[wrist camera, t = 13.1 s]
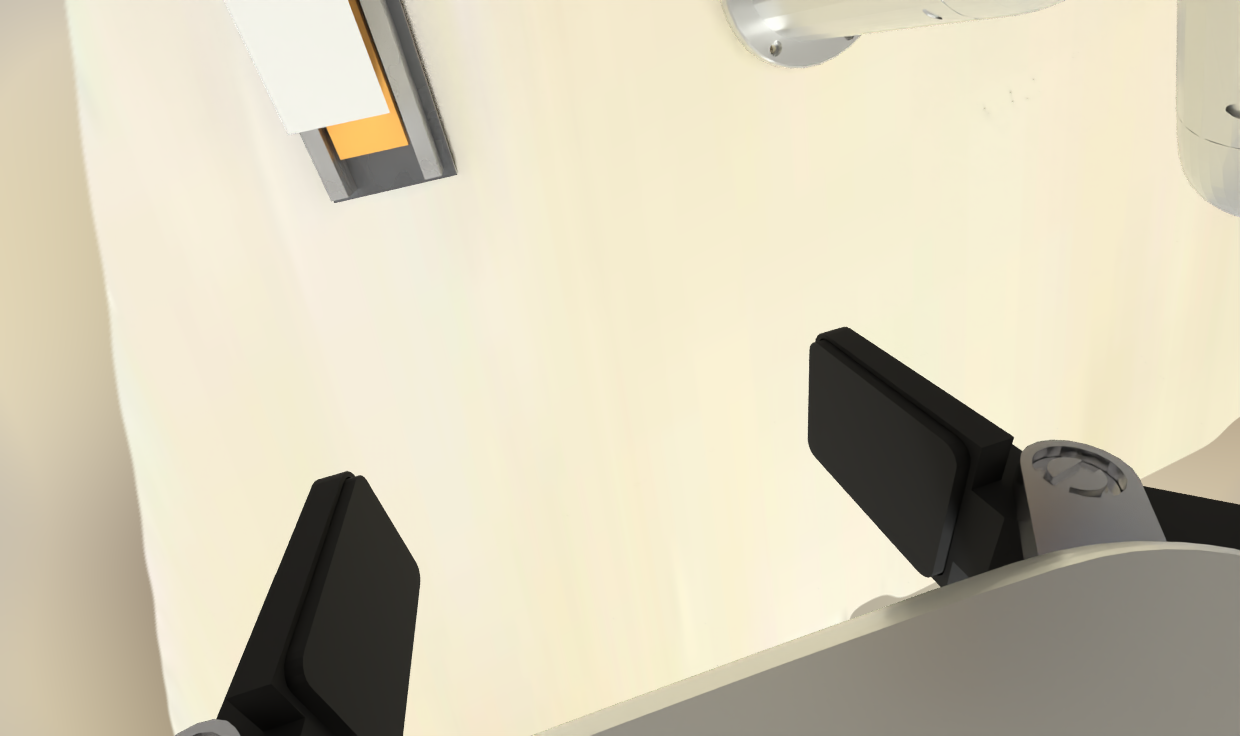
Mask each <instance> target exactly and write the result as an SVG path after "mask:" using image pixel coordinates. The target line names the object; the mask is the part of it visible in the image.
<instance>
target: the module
mask: <svg viewBox="0 0 1240 736" xmlns="http://www.w3.org/2000/svg"><path fill="white" fill-rule="evenodd" d="M223 1H224V3H225V5H226V7H227V9H228V11H229V13H230V15H231V17H232V19H233V21H234V24H235V26H236V28H237V30H238V32H239V34H240V36H241V38H242V40H243V42H244V44H245V47H246V49H247V51H248V53H249V55H250V57H251V59H252V61H253V63H254V65H255V67H256V69H257V72H258V74H259V76H260V78H261V80H262V82H263V84H264V86H265V88H266V90H267V92H268V94H269V97H270V99H271V101H272V103H273V105H274V107H275V109H276V111H277V113H278V115H279V117H280V120H281V122H282V124H283V126H284V128H285V130H286V132H287V134H288V135H291V134H295V133H300V132H304V131H309V130H314V129H318V128H323V127H327V126H332V125H336V124H341V123H346V122H350V121H355V120H359V119H364V118H369V117H373V116H378V115H382V114H387V113H390V111H389V109H388V106H387V103H386V101H385V98H384V95H383V93H382V90H381V87H380V85H379V82H378V79H377V77H376V74H375V71H374V69H373V66H372V63H371V61H370V58H369V55H368V53H367V50H366V47H365V45H364V42H363V39H362V37H361V34H360V31H359V29H358V26H357V23H356V21H355V18H354V15H353V13H352V10H351V7H350V5H349V2H348V0H223Z"/></svg>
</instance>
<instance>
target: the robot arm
mask: <svg viewBox="0 0 1240 736" xmlns="http://www.w3.org/2000/svg"><path fill="white" fill-rule="evenodd" d="M1063 1H1065V0H720V2H721V5H722V8H723V11H724V14H725V17H726V19H727V22H728V24H729V25H730V27H731V29H732V31H733V32H734V34H735V36H736V38H737V39H738V40H739V41H740V42H741V43H742V45H743V46H744V47H745V48H746V49H747V50H748V51H749V52H750V53H751V54H753V55H754V56H756V57H757V58H758V59H760V60H761V61H763V62H766V63H768V64H771V65H773V66H776V67H783V68H790V69H791V68H806V67H811V66H815V65H820V64H822V63H824V62H826V61H828V60H831V59H833V58H835V57H836V56H838V55H839V54H841V53H842V52H843V51H845V50H846V49H848V48H849V47H850V46H851V45H852V44H853V43H854V42H855V41H856V40H857V39H858V38H859V37H860V36H861V35H862V34H871V33H879V32H887V31H895V30H903V29H912V28H920V27H928V26H936V25H944V24H953V23H961V22H969V21H977V20H985V19H994V18H1001V17H1009V16H1016V15H1021V14H1026V13H1030V12H1035V11H1039V10H1042V9H1044V8H1047V7H1050V6H1053V5H1056V4H1058V3H1061V2H1063ZM771 46H772V52H771V53H770V47H771ZM1176 117H1177V142H1178V154H1179V158H1180V162H1181V166H1182V169H1183V172H1184V174H1185V176H1186V178H1187V180H1188V182H1189V183H1190V185H1191V186H1192V188H1193V189H1194V190H1195V191H1196V192H1197V193H1198V194H1199V195H1200V196H1201V197H1202V198H1203V199H1204V200H1205V201H1207V202H1209V203H1210V204H1212V205H1213V206H1215V207H1217V208H1219V209H1221V210H1222V211H1224V212H1227V213H1229V214H1232V215H1234V216H1237V217H1240V0H1177V63H1176ZM1013 439H1014V437H1013V436H1012V435H1010V434H1009V433H1007V432H1005V431H1004V430H1002V429H1001V428H999V427H998V426H996V425H995V424H993V423H992V422H990V421H989V420H987V419H986V418H984V417H983V416H981V415H980V414H978V413H977V412H975V411H974V410H972V409H971V408H969V407H968V406H966V405H965V404H963V403H962V402H960V401H959V400H957V399H956V398H954V397H953V396H951V395H950V394H948V393H947V392H945V391H944V390H942V389H941V388H939V387H938V386H936V385H935V384H933V383H932V382H930V381H929V380H927V379H926V378H924V377H923V376H921V375H919V374H918V373H916V372H915V371H913V370H912V369H910V368H909V367H907V366H906V365H904V364H903V363H901V362H900V361H898V360H897V359H895V358H894V357H892V356H891V355H889V354H888V353H886V352H885V351H883V350H882V349H880V348H879V347H877V346H876V345H874V344H873V343H871V342H870V341H868V340H867V339H865V338H864V337H862V336H861V335H859V334H858V333H856V332H855V331H853V330H852V329H850V328H848V327H842V328H838V329H835V330H831V331H828V332H824V333H821V334H819V335H818V336H817V338H816V341H815V342H814V343H812V344H811V346H810V354H809V404H808V444H809V447H810V450H811V452H812V454H813V455H814V456H815V458H816V459H817V460H818V461H819V462H820V463H821V464H822V465H823V466H824V468H825V469H826V470H827V471H828V472H829V473H830V474H831V475H832V476H833V478H834V479H835V480H836V481H837V482H838V483H839V484H840V485H841V486H842V488H843V489H844V490H845V491H846V492H847V493H848V494H849V495H850V496H851V498H852V499H853V500H854V501H855V502H856V503H857V504H858V505H859V506H860V508H861V509H862V510H863V511H864V512H865V513H866V514H867V515H868V516H869V518H870V519H871V520H872V521H873V522H874V523H875V524H876V525H877V526H878V528H879V529H880V530H881V531H882V532H883V533H884V534H885V535H886V536H887V538H888V539H889V540H890V541H891V542H892V543H893V544H894V545H895V546H896V548H897V549H898V550H899V551H900V552H901V553H902V554H903V555H904V556H905V558H906V559H907V560H908V561H909V562H910V563H911V564H912V565H913V566H914V568H915V569H916V570H917V571H918V572H919V573H920V574H921V575H923V576H925V577H928V578H929V577H932V578H933V579H934V580H935V581H936V582H937V583H938V585H939V586H940V588H937V589H934V590H931V591H928V592H926V593H923V594H920V595H917V596H915V597H912V598H909V599H906V600H903V601H901V602H898V603H895V604H892V605H890V606H886V607H884V608H881V609H878V610H875V611H872V612H870V613H867V614H864V615H861V616H858V617H856V618H853V619H850V620H847V621H844V622H842V623H839V624H836V625H833V626H830V627H828V628H825V629H822V630H819V631H816V632H814V633H811V634H808V635H805V636H802V637H800V638H797V639H794V640H791V641H789V642H786V643H783V644H780V645H778V646H775V647H772V648H769V649H767V650H764V651H761V652H758V653H756V654H753V655H750V656H747V657H744V658H742V659H739V660H736V661H733V662H731V663H728V664H725V665H722V666H720V667H717V668H714V669H711V670H709V671H706V672H703V673H700V674H698V675H695V676H692V677H689V678H687V679H684V680H681V681H678V682H676V683H673V684H670V685H667V686H665V687H662V688H659V689H657V690H654V691H651V692H648V693H646V694H643V695H640V696H637V697H635V698H632V699H629V700H626V701H624V702H621V703H618V704H615V705H613V706H610V707H607V708H605V709H602V710H599V711H596V712H594V713H591V714H588V715H586V716H583V717H580V718H578V719H575V720H572V721H569V722H567V723H564V724H561V725H559V726H556V727H553V728H550V729H548V730H545V731H542V732H540V733H537V734H534V735H532V736H1240V505H1238V504H1234V503H1228V502H1223V501H1218V500H1213V499H1207V498H1202V497H1197V496H1192V495H1187V494H1182V493H1176V492H1171V491H1166V490H1160V489H1156V488H1150V487H1145V486H1143V485H1142V483H1141V480H1140V479H1139V477H1138V476H1137V474H1136V473H1135V472H1134V470H1133V469H1132V468H1131V467H1130V466H1128V465H1127V464H1126V463H1125V462H1123V461H1122V460H1121V459H1119V458H1117V457H1116V456H1114V455H1112V454H1110V453H1108V452H1106V451H1104V450H1101V449H1098V448H1096V447H1093V446H1090V445H1087V444H1083V443H1078V442H1073V441H1065V440H1047V441H1040V442H1036V443H1034V444H1031V445H1029V446H1027V447H1026V448H1025V449H1024V450H1023V451H1021V450H1020V449H1018V448H1017V447H1016V446H1014V445H1013V444H1012V442H1013ZM419 589H420V573H419V568H418V566H417V563H416V562H415V560H414V558H413V557H412V555H411V553H410V552H409V550H408V548H407V547H406V545H405V543H404V542H403V540H402V538H401V537H400V535H399V533H398V532H397V530H396V528H395V527H394V525H393V523H392V522H391V520H390V518H389V517H388V515H387V513H386V512H385V510H384V508H383V507H382V505H381V503H380V502H379V500H378V498H377V497H376V495H375V493H374V492H373V490H372V488H371V487H370V485H369V483H368V482H367V480H366V479H365V477H363V476H361V475H359V476H356V477H355V476H354V474H352V473H351V472H348V471H346V472H343V473H339V474H336V475H332V476H329V477H325V478H322V479H318V480H316V481H315V482H314V483H313V485H312V487H311V490H310V492H309V495H308V497H307V500H306V502H305V504H304V507H303V509H302V512H301V514H300V517H299V519H298V522H297V524H296V527H295V529H294V531H293V534H292V536H291V539H290V541H289V544H288V546H287V549H286V551H285V553H284V556H283V558H282V561H281V563H280V566H279V568H278V571H277V573H276V575H275V577H274V579H273V582H272V584H271V587H270V589H269V592H268V594H267V597H266V599H265V601H264V604H263V606H262V609H261V611H260V614H259V616H258V619H257V621H256V623H255V626H254V628H253V631H252V633H251V636H250V638H249V641H248V643H247V645H246V648H245V650H244V653H243V655H242V658H241V660H240V663H239V665H238V667H237V670H236V672H235V675H234V677H233V680H232V682H231V685H230V687H229V689H228V692H227V694H226V697H225V699H224V702H223V704H222V707H221V709H220V711H219V714H218V716H217V719H212V720H209V721H205V722H201V723H197V724H195V725H193V726H191V727H189V728H187V729H186V730H184V731H182V732H180V733H178V734H177V735H175V736H403V730H404V721H405V712H406V703H407V695H408V686H409V677H410V668H411V659H412V651H413V642H414V633H415V624H416V615H417V607H418V598H419Z"/></svg>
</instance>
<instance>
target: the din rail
mask: <svg viewBox="0 0 1240 736" xmlns="http://www.w3.org/2000/svg"><path fill="white" fill-rule="evenodd" d="M358 2H359V4H360V7H361V10H362V13H363V15H364V18H365V21H366V23H367V26H368V29H369V32H370V34H371V37H372V40H373V43H374V45H375V48H376V51H377V54H378V56H379V59H380V62H381V64H382V67H383V70H384V73H385V75H386V78H387V81H388V84H389V86H390V89H391V92H392V94H393V97H394V100H395V103H396V105H397V108H398V111H399V114H400V116H401V119H402V122H403V124H404V127H405V130H406V133H407V135H408V138H409V141H410V144H409V145H406V146H401V147H397V148H392V149H388V150H383V151H379V152H374V153H370V154H365V155H361V156H356V157H352V158H347V159H343V160H340V157H339V155H338V153H337V151H336V148H335V146H334V144H333V141H332V139H331V137H330V135H329V132H328V130H327V128H326V127H323V128H318V129H314V130H309V131H304V132H300V135H301V137H302V140H303V142H304V144H305V146H306V148H307V150H308V152H309V155H310V157H311V159H312V161H313V163H314V165H315V167H316V169H317V172H318V174H319V176H320V178H321V180H322V182H323V184H324V187H325V189H326V191H327V193H328V195H329V197H330V199H331V201H334V203H337V202H341V201H346V200H350V199H354V198H359V197H363V196H367V195H372V194H376V193H380V192H385V191H389V190H393V189H398V188H402V187H406V186H411V185H415V184H419V183H424V182H428V181H432V180H436V179H441V178H445V177H449V176H454V175H457V169H456V166H455V163H454V160H453V157H452V154H451V151H450V148H449V145H448V142H447V139H446V136H445V133H444V130H443V127H442V124H441V121H440V118H439V115H438V112H437V109H436V106H435V103H434V100H433V97H432V94H431V91H430V88H429V85H428V82H427V79H426V76H425V73H424V70H423V67H422V64H421V61H420V58H419V54H418V51H417V48H416V45H415V42H414V39H413V36H412V33H411V30H410V27H409V24H408V21H407V18H406V15H405V12H404V9H403V6H402V3H401V0H358Z"/></svg>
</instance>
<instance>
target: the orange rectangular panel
mask: <svg viewBox="0 0 1240 736" xmlns="http://www.w3.org/2000/svg"><path fill="white" fill-rule="evenodd" d="M348 2H349V5H350V7H351V10H352V13H353V15H354V18H355V21H356V23H357V26H358V29H359V31H360V34H361V37H362V39H363V42H364V45H365V47H366V50H367V53H368V55H369V58H370V61H371V63H372V66H373V69H374V71H375V74H376V77H377V79H378V82H379V85H380V87H381V90H382V93H383V95H384V98H385V101H386V103H387V106H388V109H389V111H390V113H387V114H382V115H378V116H373V117H369V118H364V119H359V120H355V121H350V122H346V123H341V124H336V125H332V126H327V127H326V128H327V130H328V132H329V135H330V137H331V139H332V141H333V144H334V146H335V148H336V151H337V153H338V155H339V157H340V160H343V159H347V158H352V157H356V156H361V155H365V154H370V153H374V152H379V151H383V150H388V149H392V148H397V147H401V146H406V145H409V144H410V141H409V138H408V135H407V133H406V130H405V127H404V124H403V122H402V119H401V116H400V114H399V111H398V108H397V105H396V103H395V100H394V97H393V94H392V92H391V89H390V86H389V84H388V81H387V78H386V75H385V73H384V70H383V67H382V64H381V62H380V59H379V56H378V54H377V51H376V48H375V45H374V43H373V40H372V37H371V34H370V32H369V29H368V26H367V23H366V21H365V18H364V15H363V13H362V10H361V7H360V4H359V2H358V0H348Z"/></svg>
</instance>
